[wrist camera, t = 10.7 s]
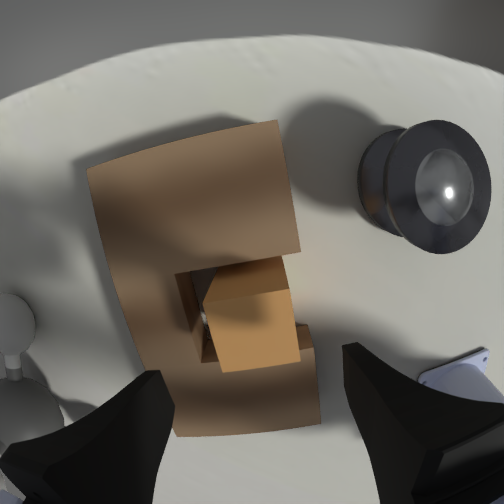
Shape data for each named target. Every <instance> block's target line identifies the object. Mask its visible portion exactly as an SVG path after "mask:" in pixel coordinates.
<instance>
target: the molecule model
mask: <svg viewBox="0 0 504 504" xmlns="http://www.w3.org/2000/svg"><path fill="white" fill-rule="evenodd" d="M35 328H36V324H35V320H34V315H33V312H32V311H31V309H30V308H29V306H28V304H27V303H26V302H25V301H24V300H22V299H21V298H20V297H18V296H17V295H12V294H7V293H3V294H0V353H2V354H4V361H5V368H6V374H7V378H3V379H0V457H1V456H2V455H3V453H4V452H5V451H6V449H7V448H8V447H9V445H10V444H11V443H16V442H21V441H25V440H30V439H34V438H37V437H41V436H44V435H47V434H50V433H52V432H55V431H57V430H60V429H62V428H64V427H66V426H64V417H63V415H62V412H61V410H60V407H59V405H58V402H57V401H56V399H55V398H54V397H53V396H52V395H51V394H50V392H49V391H48V390H47V389H46V388H45V387H44V386H42V385H41V384H39V383H37V382H36V381H34V380H33V379H30V378H25V377H23V374H22V367H21V360H20V354H21V353H22V352H24V351H26V350H27V349H28V348H29V346H30V345H31V343H32V341H33V339H34V337H35ZM1 489H3V490H5V491H7V489H6V485H5V480H4V477H3V475H2V474H1V472H0V490H1Z"/></svg>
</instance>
